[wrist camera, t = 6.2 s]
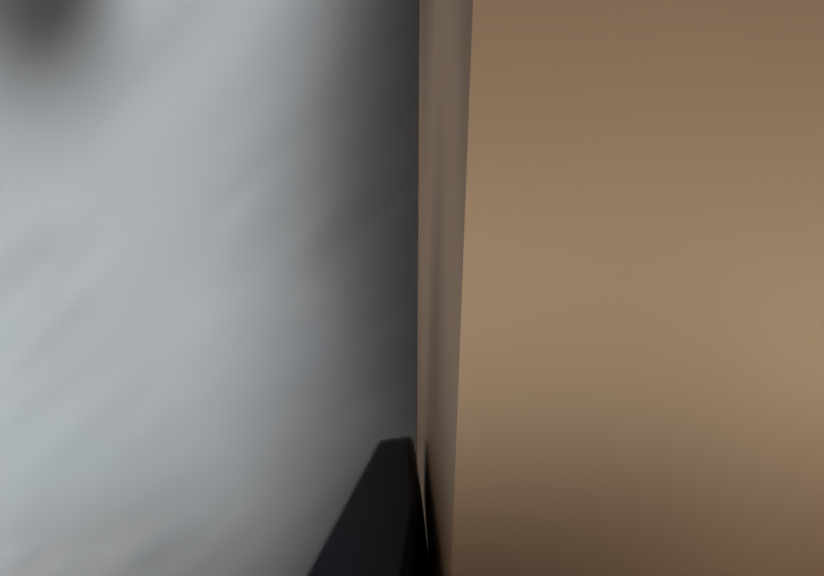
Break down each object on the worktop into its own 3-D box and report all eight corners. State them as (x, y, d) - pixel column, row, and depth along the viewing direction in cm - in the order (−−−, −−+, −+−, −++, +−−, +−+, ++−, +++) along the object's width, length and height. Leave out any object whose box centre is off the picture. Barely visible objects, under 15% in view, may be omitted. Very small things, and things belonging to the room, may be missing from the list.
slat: (599, 722, 14) (679, 1002, 10) (415, 733, 14) (434, 1022, 10) (827, -388, 6) (1412, -739, 3) (421, -397, 6) (504, -786, 3)
